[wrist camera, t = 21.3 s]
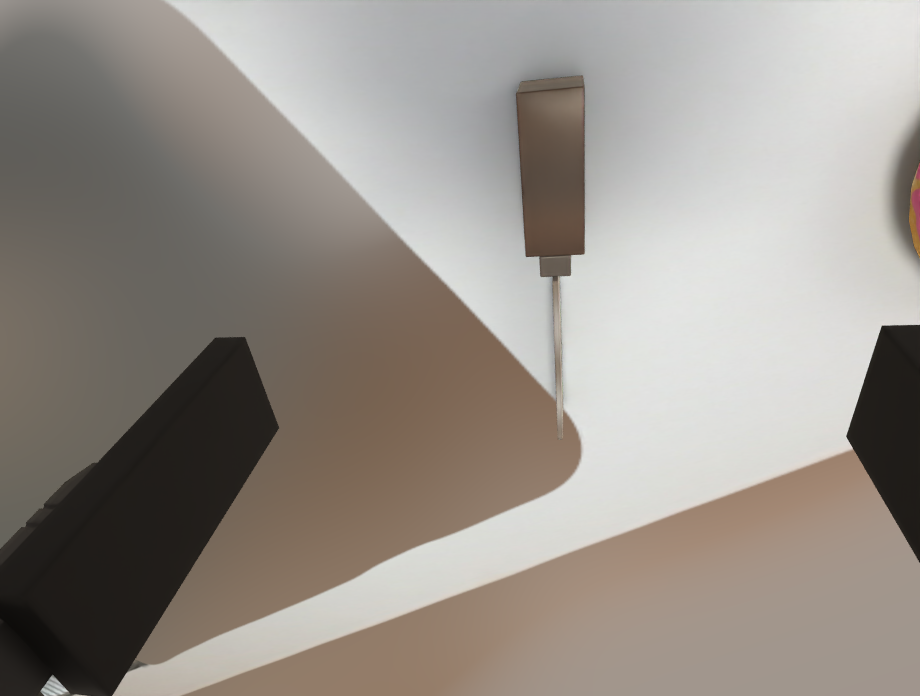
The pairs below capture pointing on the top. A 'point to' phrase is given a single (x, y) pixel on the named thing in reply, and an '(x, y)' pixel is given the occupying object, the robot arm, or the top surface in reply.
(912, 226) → the donut
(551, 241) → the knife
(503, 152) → the top surface
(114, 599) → the robot arm
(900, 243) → the top surface
